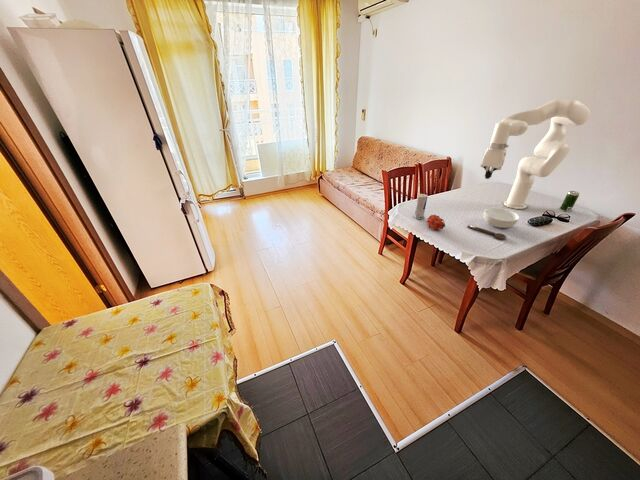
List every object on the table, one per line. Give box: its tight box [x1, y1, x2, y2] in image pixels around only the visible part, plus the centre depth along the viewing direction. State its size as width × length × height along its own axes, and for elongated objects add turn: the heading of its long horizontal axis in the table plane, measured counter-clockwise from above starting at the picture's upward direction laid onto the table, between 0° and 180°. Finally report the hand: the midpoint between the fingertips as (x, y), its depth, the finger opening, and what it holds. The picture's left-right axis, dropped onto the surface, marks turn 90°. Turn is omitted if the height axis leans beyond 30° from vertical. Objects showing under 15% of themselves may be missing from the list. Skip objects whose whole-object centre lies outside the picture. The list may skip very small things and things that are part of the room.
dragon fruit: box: [425, 214, 446, 232], centre depth 147 cm, size 8×8×12 cm
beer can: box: [559, 190, 581, 213], centre depth 156 cm, size 5×5×12 cm
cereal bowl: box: [483, 207, 520, 229], centre depth 146 cm, size 17×17×7 cm
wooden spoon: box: [467, 224, 507, 241], centre depth 141 cm, size 20×5×2 cm, turn 41°
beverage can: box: [413, 193, 428, 220], centre depth 157 cm, size 6×6×15 cm
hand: (487, 178), depth 149 cm, fingers closed
